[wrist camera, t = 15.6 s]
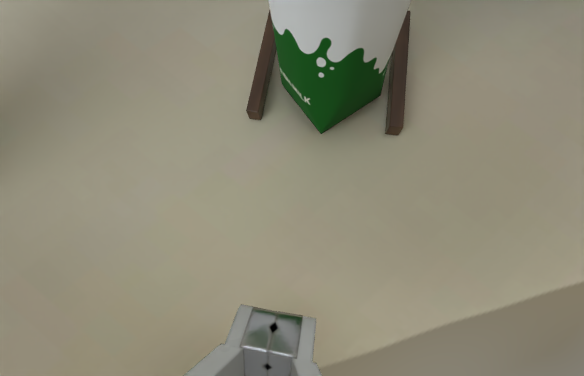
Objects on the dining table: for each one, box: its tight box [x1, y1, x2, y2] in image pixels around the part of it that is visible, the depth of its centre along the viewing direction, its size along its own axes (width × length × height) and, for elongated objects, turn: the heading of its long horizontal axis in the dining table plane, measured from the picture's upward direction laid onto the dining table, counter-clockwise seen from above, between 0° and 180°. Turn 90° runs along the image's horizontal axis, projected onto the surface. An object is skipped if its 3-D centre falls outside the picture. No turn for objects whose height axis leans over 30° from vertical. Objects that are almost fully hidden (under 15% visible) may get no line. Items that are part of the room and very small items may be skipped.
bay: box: [246, 10, 410, 135], centre depth 28 cm, size 14×13×2 cm
